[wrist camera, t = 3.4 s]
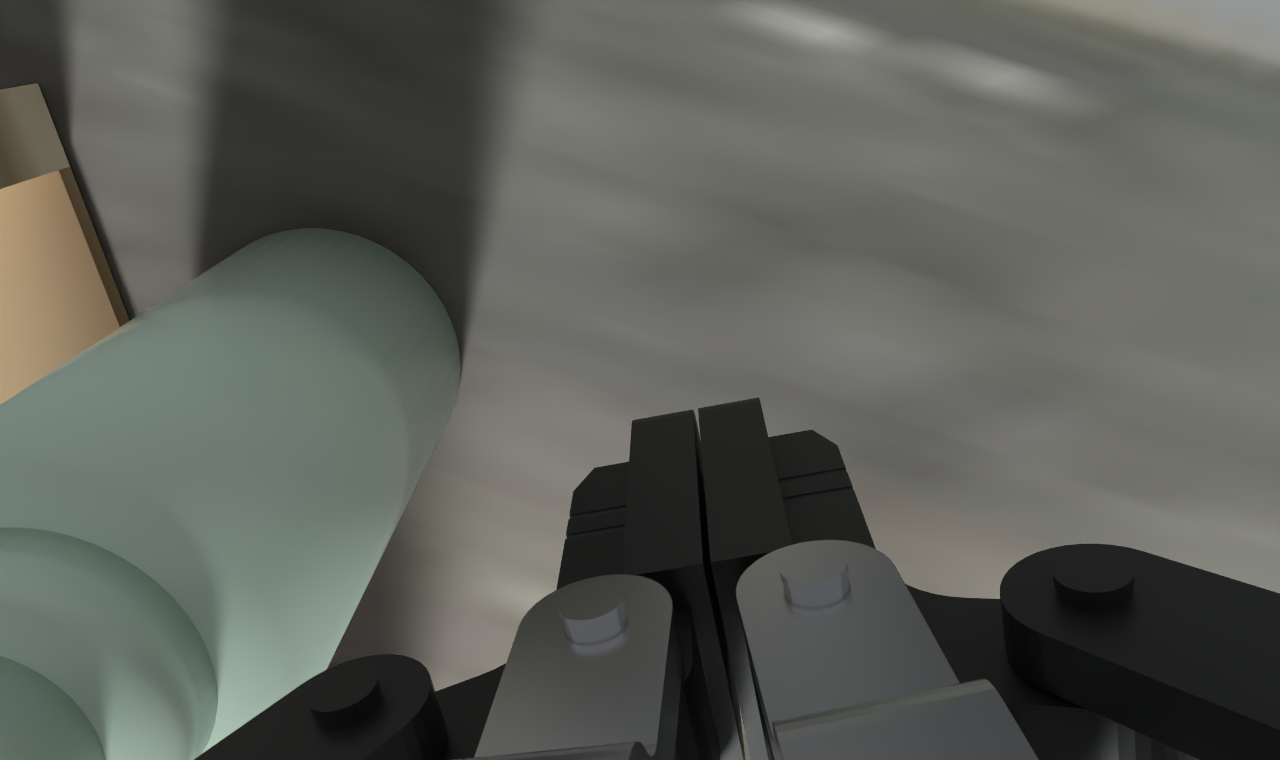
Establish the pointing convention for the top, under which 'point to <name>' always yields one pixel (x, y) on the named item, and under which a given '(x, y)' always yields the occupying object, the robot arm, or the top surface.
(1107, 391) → the top surface
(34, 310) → the cradle
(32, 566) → the bottle
